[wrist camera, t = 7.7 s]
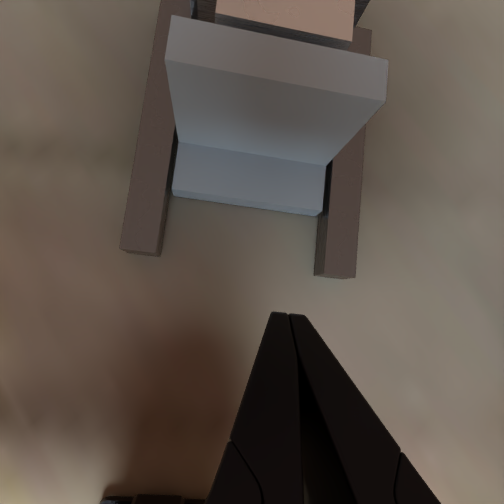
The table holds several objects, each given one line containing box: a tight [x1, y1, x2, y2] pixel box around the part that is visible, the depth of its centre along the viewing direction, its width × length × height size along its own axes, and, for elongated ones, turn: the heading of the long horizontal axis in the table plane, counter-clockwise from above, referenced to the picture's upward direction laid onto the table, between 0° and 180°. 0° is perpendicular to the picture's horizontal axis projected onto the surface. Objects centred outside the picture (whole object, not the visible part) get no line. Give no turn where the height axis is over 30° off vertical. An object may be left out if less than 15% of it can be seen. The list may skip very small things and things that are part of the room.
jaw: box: [165, 15, 388, 216], centre depth 18 cm, size 6×9×9 cm, turn 84°
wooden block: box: [215, 0, 355, 51], centre depth 19 cm, size 5×6×9 cm
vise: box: [120, 0, 372, 279], centre depth 20 cm, size 17×14×6 cm
